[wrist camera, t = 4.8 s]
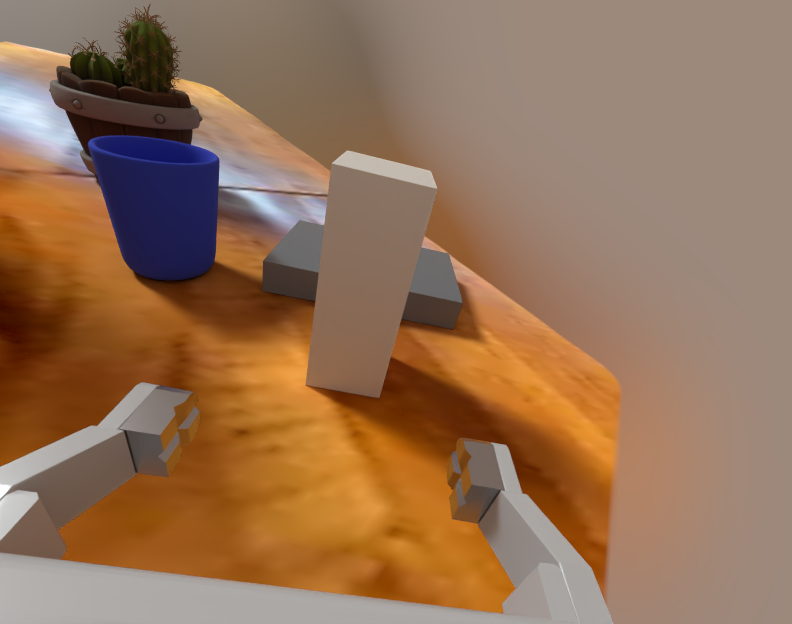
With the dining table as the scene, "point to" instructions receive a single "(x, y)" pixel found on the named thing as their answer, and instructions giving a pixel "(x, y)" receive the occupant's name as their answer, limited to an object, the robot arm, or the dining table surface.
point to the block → (366, 269)
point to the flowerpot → (126, 91)
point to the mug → (160, 203)
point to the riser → (299, 268)
